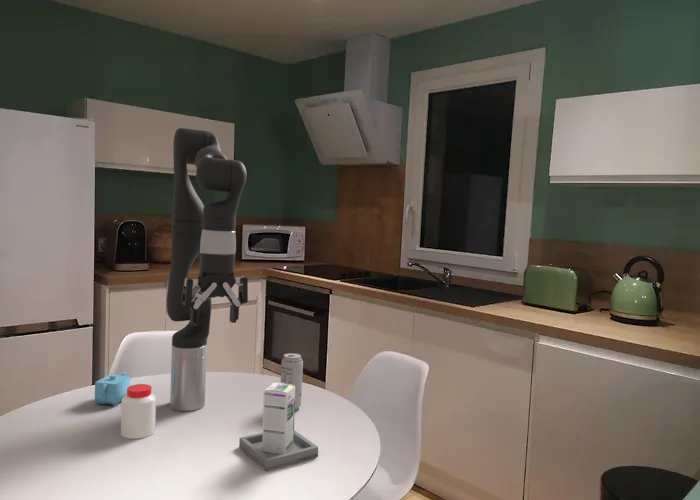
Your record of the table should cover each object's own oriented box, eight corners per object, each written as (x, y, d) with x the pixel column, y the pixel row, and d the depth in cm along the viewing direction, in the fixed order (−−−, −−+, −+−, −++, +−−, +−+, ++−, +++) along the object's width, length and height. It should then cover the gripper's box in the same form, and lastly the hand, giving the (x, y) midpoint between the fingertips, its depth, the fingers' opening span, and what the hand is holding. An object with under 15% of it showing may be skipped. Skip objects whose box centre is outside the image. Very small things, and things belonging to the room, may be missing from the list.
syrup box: (285, 455, 116) (288, 392, 115) (260, 451, 118) (263, 388, 117) (293, 445, 122) (296, 384, 121) (270, 441, 123) (272, 381, 122)
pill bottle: (162, 430, 128) (163, 386, 127) (137, 441, 121) (138, 395, 120) (138, 423, 131) (140, 380, 131) (113, 434, 124) (114, 389, 124)
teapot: (116, 392, 152) (116, 367, 151) (136, 394, 151) (136, 369, 150) (91, 407, 140) (91, 380, 139) (112, 409, 139) (113, 382, 139)
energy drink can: (304, 409, 146) (307, 357, 145) (285, 413, 143) (287, 359, 142) (294, 402, 151) (296, 351, 150) (275, 405, 148) (278, 353, 147)
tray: (239, 446, 121) (239, 437, 121) (288, 434, 129) (289, 426, 129) (265, 471, 111) (266, 461, 111) (317, 456, 119) (318, 447, 119)
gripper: (241, 249, 121) (237, 317, 123) (179, 248, 113) (176, 322, 114) (255, 252, 115) (251, 325, 117) (191, 252, 107) (188, 330, 108)
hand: (214, 323), depth 115 cm, fingers open, 8 cm apart
